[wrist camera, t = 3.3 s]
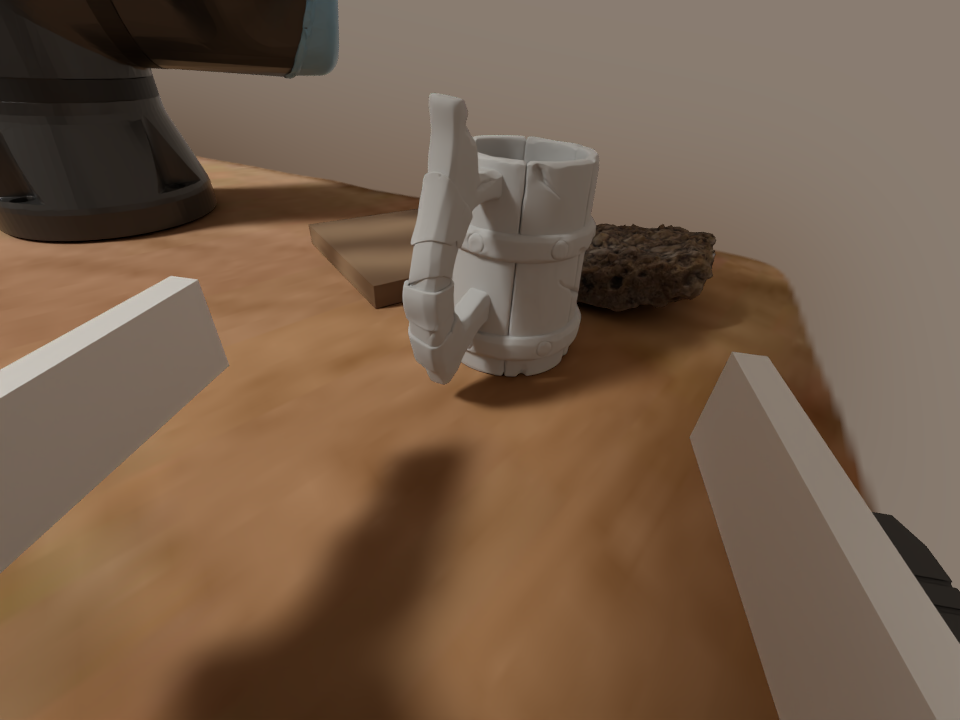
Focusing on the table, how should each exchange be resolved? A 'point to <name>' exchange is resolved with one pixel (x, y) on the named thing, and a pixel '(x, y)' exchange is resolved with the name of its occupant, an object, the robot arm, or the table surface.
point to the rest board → (370, 252)
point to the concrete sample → (644, 266)
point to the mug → (497, 248)
